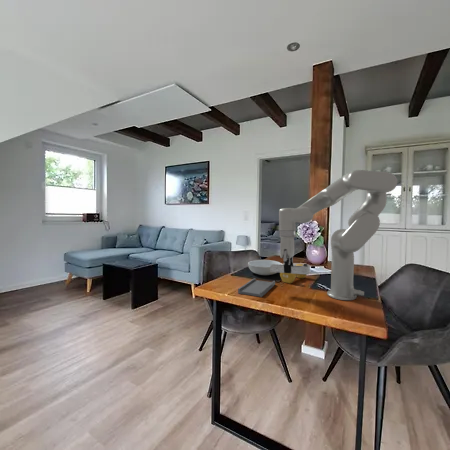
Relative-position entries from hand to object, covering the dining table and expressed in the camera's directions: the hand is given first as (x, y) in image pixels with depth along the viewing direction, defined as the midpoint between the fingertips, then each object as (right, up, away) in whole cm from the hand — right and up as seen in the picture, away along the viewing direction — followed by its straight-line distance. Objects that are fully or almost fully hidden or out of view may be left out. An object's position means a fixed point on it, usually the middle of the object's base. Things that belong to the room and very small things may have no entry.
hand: (288, 271), depth 123 cm
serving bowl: (-6, -9, +40) cm, 42 cm away
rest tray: (-14, -10, +9) cm, 19 cm away
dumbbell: (+10, -10, +26) cm, 29 cm away
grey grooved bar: (0, 0, 0) cm, 0 cm away
